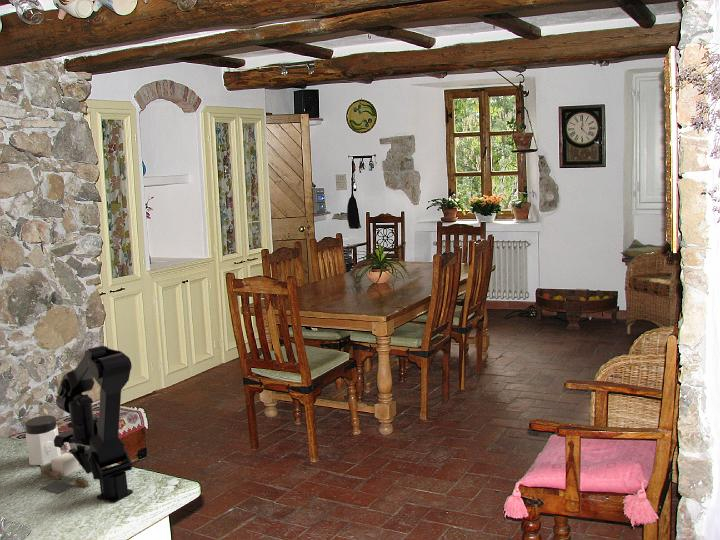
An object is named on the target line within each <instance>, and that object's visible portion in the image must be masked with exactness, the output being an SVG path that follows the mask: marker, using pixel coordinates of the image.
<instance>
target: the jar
mask: <svg viewBox="0 0 720 540" xmlns="http://www.w3.org/2000/svg"><path fill="white" fill-rule="evenodd" d="M24 425H25V427H24V428H25V431H26V433H25V440H26V447H27V454H28V460H29V461H28V463H29V465H30V466H37V465H40V467H41V466H43V465H45V464H47V463H50V462H51V459H54V458H56V457H58V456H60V455H62V450H61V448H59V447H55V446H54V439H55V437H56V436H57V435H59V427H58V424H57V418H56V417H55V416H54V415H40V416H34V417H32V418H30V419H28V420H27V421H25V423H24Z"/></svg>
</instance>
